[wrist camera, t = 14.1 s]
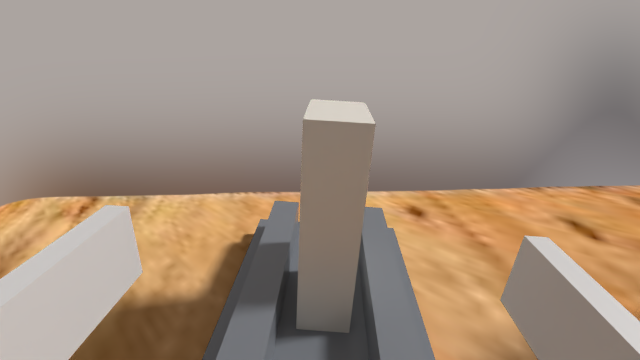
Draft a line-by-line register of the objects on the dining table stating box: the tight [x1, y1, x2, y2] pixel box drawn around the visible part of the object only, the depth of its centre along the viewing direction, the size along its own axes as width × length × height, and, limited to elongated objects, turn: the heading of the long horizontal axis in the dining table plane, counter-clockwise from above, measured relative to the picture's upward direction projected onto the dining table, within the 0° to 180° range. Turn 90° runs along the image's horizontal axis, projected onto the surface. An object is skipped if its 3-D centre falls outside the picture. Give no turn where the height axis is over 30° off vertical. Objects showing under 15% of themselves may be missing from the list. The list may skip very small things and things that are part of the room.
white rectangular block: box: [296, 99, 376, 333], centre depth 18 cm, size 3×5×12 cm, turn 178°
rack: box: [202, 201, 435, 360], centre depth 20 cm, size 12×18×4 cm, turn 178°
